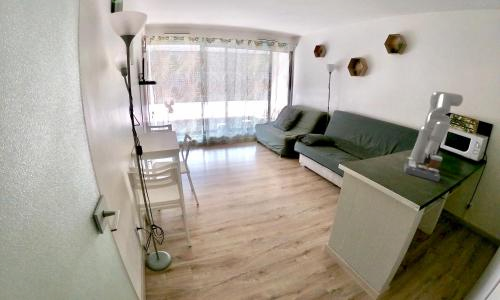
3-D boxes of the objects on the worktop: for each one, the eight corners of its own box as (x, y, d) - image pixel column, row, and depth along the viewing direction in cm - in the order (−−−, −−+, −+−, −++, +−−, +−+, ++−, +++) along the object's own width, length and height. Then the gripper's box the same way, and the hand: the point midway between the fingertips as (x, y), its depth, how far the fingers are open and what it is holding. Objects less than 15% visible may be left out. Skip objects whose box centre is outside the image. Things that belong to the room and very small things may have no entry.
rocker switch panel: (402, 165, 188) (404, 160, 186) (433, 173, 179) (435, 168, 177) (404, 172, 172) (406, 167, 171) (438, 181, 164) (440, 176, 162)
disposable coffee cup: (431, 172, 180) (437, 158, 175) (419, 167, 188) (425, 153, 184) (439, 172, 182) (446, 158, 178) (428, 167, 191) (434, 154, 187)
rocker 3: (428, 169, 174) (429, 167, 174) (435, 170, 172) (435, 169, 172) (431, 170, 166) (432, 168, 166) (438, 172, 164) (439, 170, 164)
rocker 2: (418, 166, 177) (418, 164, 176) (424, 167, 175) (425, 166, 175) (420, 167, 169) (421, 166, 168) (427, 169, 167) (428, 167, 167)
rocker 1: (408, 161, 179) (409, 160, 178) (414, 163, 177) (415, 161, 177) (408, 167, 172) (409, 165, 172) (415, 168, 171) (416, 167, 170)
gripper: (428, 136, 168) (418, 158, 175) (431, 140, 156) (421, 164, 162) (440, 138, 165) (430, 161, 171) (445, 142, 153) (434, 167, 159)
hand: (426, 163), depth 167 cm, fingers closed
